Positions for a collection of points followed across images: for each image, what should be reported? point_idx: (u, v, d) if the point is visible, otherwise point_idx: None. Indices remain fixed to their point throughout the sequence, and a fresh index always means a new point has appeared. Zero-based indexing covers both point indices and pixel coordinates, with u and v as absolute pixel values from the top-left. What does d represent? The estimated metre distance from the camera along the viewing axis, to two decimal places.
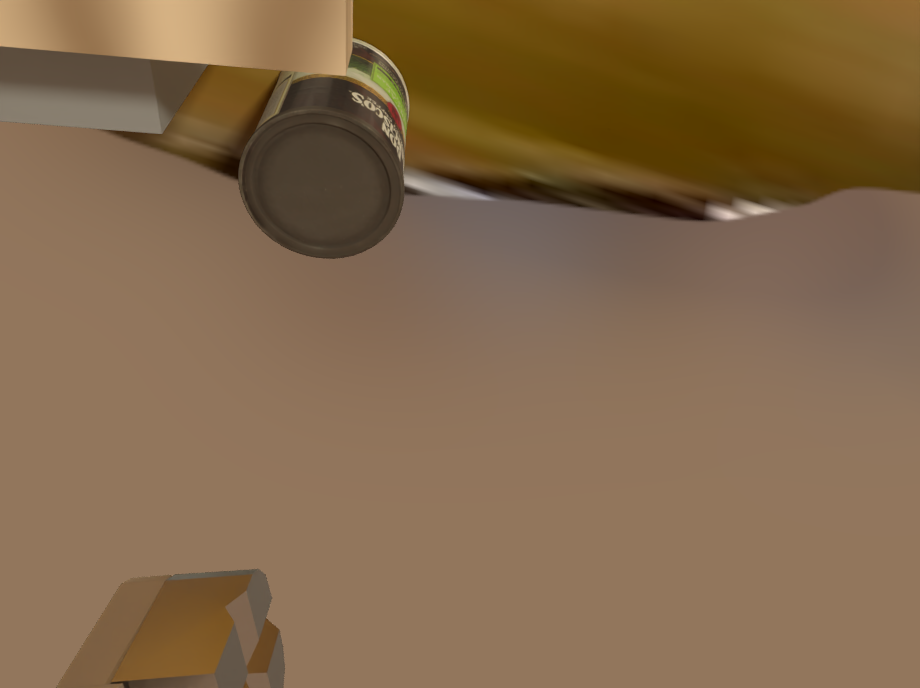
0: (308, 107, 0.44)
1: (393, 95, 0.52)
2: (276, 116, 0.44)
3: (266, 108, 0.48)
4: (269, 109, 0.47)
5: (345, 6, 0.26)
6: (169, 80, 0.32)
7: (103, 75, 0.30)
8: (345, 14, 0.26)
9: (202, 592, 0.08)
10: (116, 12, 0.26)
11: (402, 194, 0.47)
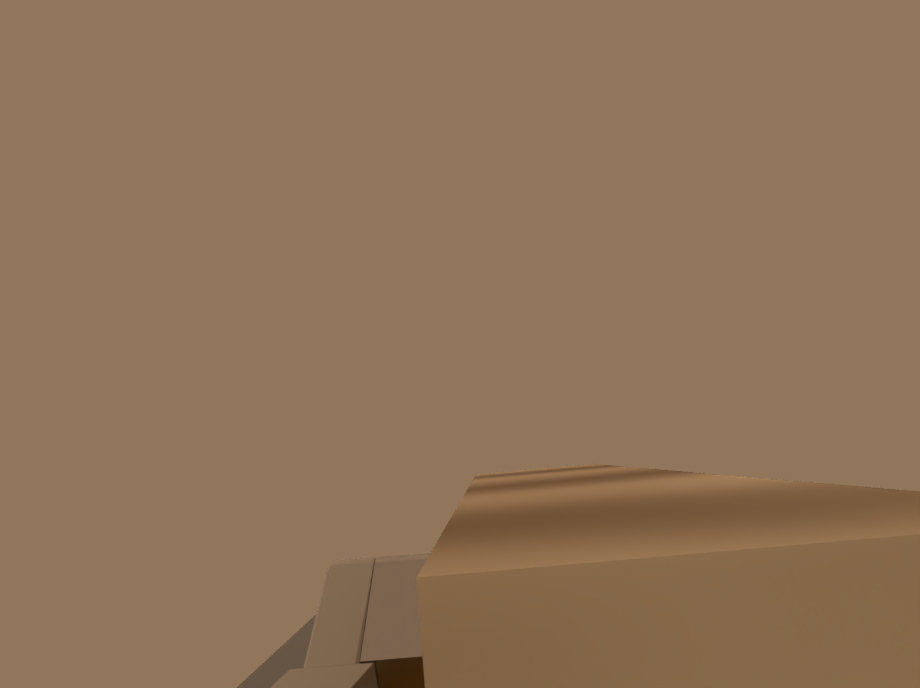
0: None
1: None
2: None
3: None
4: None
5: None
6: None
7: None
8: (870, 558, 0.03)
9: (417, 574, 0.08)
10: (565, 484, 0.11)
11: None
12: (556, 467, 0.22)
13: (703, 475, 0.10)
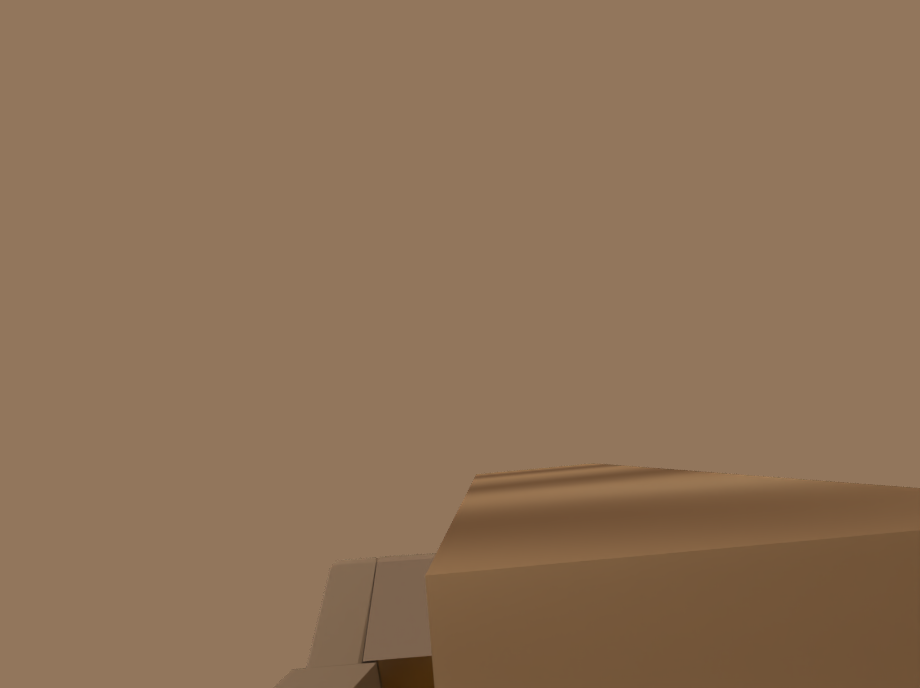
0: None
1: None
2: None
3: None
4: None
5: None
6: None
7: None
8: (875, 554, 0.04)
9: (419, 573, 0.08)
10: (566, 483, 0.11)
11: None
12: None
13: (704, 473, 0.10)
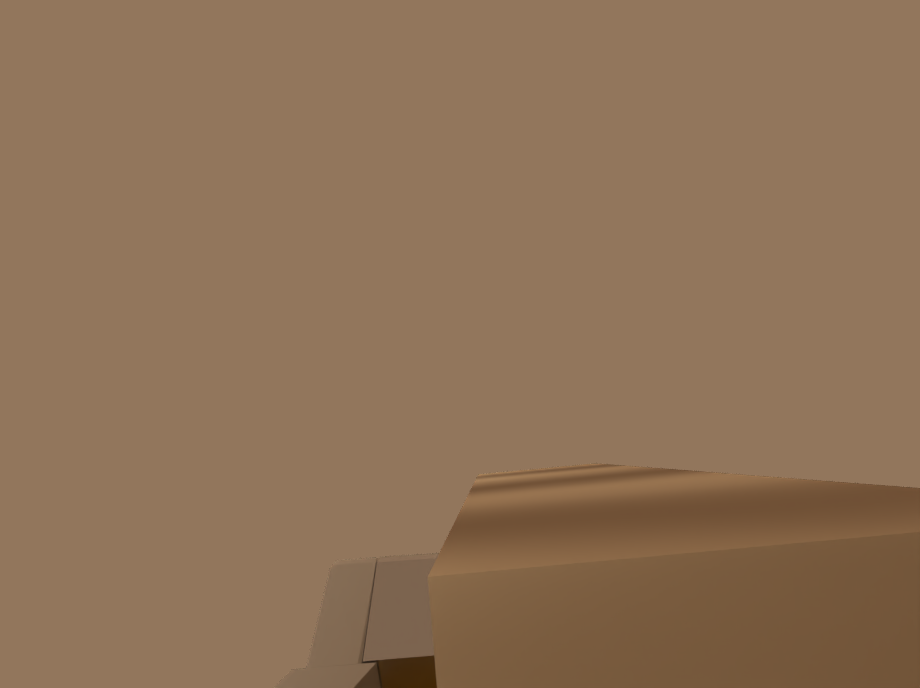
0: None
1: None
2: None
3: None
4: None
5: None
6: None
7: None
8: (882, 555, 0.03)
9: (420, 574, 0.08)
10: (568, 483, 0.11)
11: None
12: None
13: (707, 474, 0.10)
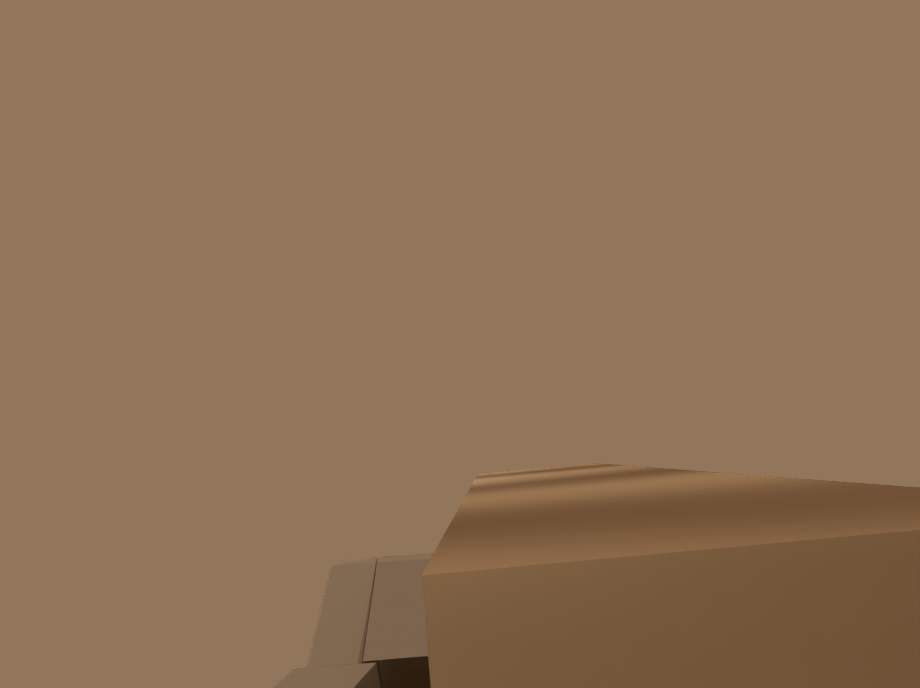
0: None
1: None
2: None
3: None
4: None
5: None
6: None
7: None
8: (875, 553, 0.03)
9: (420, 573, 0.08)
10: (567, 483, 0.11)
11: None
12: None
13: (705, 473, 0.10)
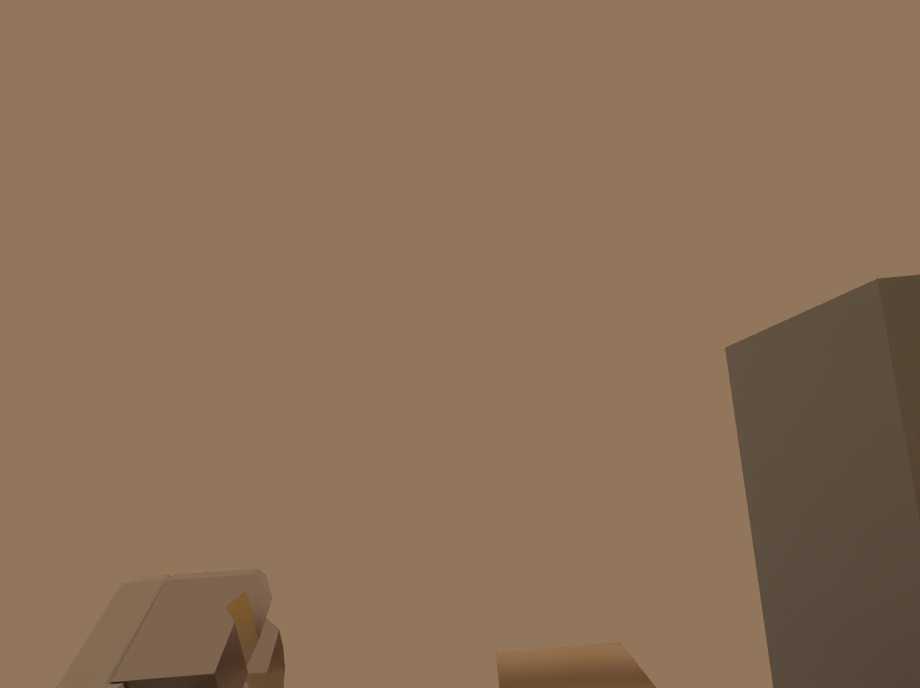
0: None
1: None
2: None
3: None
4: None
5: None
6: None
7: None
8: None
9: (202, 592, 0.08)
10: None
11: None
12: (581, 647, 0.21)
13: None
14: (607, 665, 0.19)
